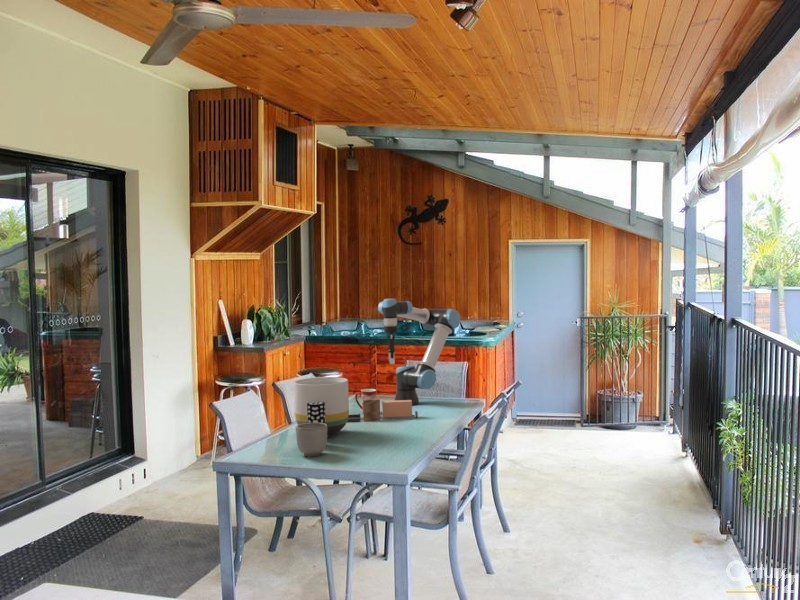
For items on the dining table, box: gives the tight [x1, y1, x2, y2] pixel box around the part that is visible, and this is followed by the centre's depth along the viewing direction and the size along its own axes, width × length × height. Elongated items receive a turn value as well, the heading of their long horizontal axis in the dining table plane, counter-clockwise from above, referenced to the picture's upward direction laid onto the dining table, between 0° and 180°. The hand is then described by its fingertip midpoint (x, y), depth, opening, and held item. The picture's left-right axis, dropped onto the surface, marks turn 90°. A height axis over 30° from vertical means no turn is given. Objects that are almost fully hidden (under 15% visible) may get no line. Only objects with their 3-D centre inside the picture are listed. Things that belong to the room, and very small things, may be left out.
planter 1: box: [293, 376, 350, 437], centre depth 350 cm, size 27×27×27 cm
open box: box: [362, 395, 381, 423], centre depth 386 cm, size 9×12×12 cm
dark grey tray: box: [347, 413, 361, 423], centre depth 386 cm, size 9×12×2 cm
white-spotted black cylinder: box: [307, 402, 326, 424], centre depth 326 cm, size 8×8×20 cm
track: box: [360, 410, 419, 421], centre depth 386 cm, size 31×5×3 cm, turn 93°
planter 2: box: [295, 423, 328, 458], centre depth 310 cm, size 14×14×13 cm
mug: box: [355, 388, 377, 415], centre depth 403 cm, size 13×9×14 cm
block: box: [381, 400, 413, 417], centre depth 387 cm, size 16×6×8 cm, turn 93°
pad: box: [381, 418, 414, 421], centre depth 387 cm, size 17×9×1 cm, turn 93°
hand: (391, 362), depth 403 cm, fingers open, 13 cm apart
